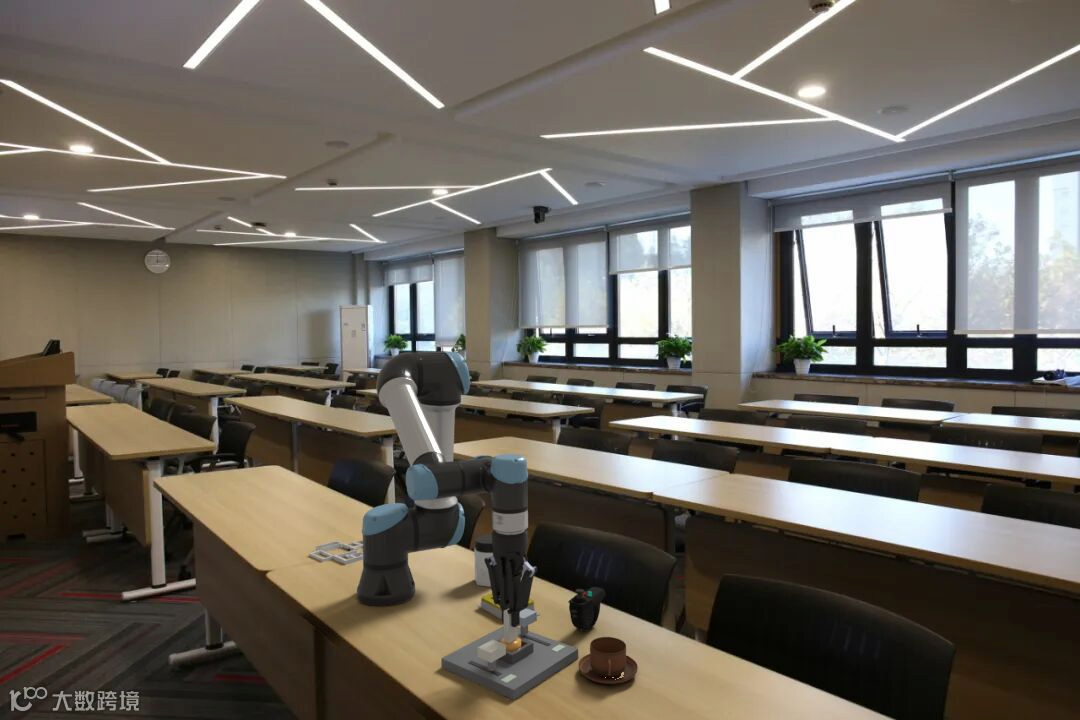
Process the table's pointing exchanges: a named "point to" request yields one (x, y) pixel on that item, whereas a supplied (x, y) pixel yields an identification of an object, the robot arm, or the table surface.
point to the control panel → (511, 663)
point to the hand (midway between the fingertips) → (510, 639)
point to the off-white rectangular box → (491, 652)
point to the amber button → (512, 644)
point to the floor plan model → (339, 558)
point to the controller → (586, 607)
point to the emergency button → (494, 609)
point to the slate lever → (526, 620)
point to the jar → (482, 559)
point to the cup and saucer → (608, 661)
